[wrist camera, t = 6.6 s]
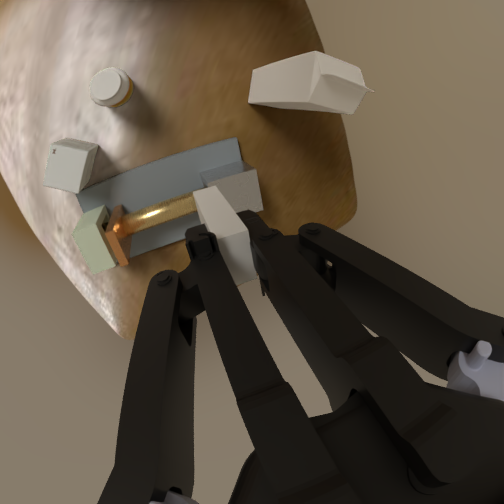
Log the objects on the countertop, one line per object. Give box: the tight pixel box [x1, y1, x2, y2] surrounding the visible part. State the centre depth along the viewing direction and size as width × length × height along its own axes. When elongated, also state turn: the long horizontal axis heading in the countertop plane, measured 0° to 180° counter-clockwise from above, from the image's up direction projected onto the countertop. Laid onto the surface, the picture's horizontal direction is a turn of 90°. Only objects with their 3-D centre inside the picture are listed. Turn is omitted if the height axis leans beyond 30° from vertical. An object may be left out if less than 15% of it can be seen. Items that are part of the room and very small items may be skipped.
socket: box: [72, 205, 117, 275], centre depth 36 cm, size 7×4×8 cm, turn 11°
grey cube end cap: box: [199, 160, 263, 213], centre depth 40 cm, size 6×7×7 cm
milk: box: [248, 51, 375, 115], centre depth 29 cm, size 6×6×22 cm
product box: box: [43, 138, 98, 194], centre depth 31 cm, size 6×6×7 cm
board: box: [76, 137, 241, 263], centre depth 42 cm, size 14×27×1 cm, turn 101°
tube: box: [102, 187, 207, 267], centre depth 37 cm, size 5×20×10 cm, turn 101°
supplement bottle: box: [89, 67, 133, 107], centre depth 27 cm, size 5×5×10 cm
